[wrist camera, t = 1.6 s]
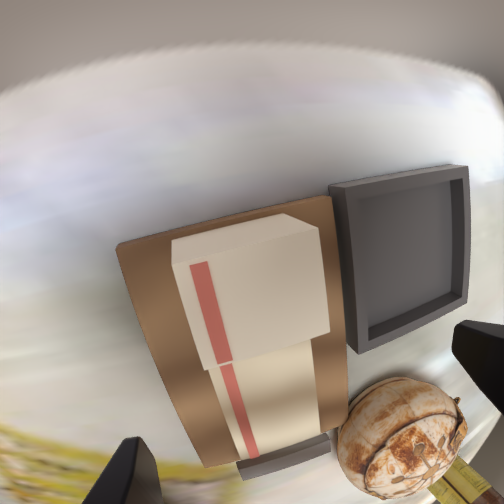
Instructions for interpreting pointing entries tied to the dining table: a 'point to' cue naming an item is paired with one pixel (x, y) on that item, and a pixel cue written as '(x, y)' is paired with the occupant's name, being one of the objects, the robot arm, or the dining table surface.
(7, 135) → the dining table surface
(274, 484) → the dining table surface
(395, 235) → the tray
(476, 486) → the sauce bottle
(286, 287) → the stub
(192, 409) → the board
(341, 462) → the trinket box
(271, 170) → the dining table surface
